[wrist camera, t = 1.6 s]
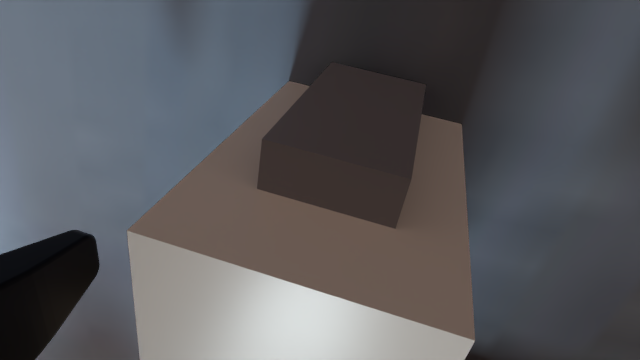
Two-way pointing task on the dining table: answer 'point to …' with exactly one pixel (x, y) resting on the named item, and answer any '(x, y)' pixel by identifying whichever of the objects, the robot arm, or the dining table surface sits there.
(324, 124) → the plug
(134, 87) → the dining table surface
